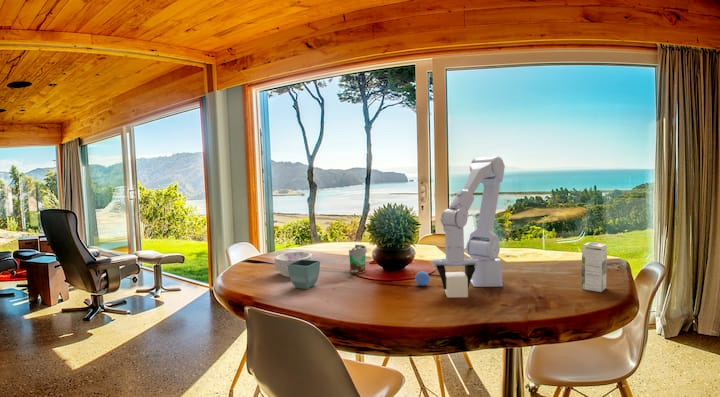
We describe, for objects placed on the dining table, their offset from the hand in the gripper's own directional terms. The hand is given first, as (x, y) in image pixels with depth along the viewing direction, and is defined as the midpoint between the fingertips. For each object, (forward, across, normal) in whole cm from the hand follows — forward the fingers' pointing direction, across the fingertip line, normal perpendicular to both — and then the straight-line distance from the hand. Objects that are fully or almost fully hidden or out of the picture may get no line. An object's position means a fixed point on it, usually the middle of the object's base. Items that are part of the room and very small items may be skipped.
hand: (455, 288), depth 121 cm
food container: (+2, -34, +31) cm, 46 cm away
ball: (-1, -10, +10) cm, 14 cm away
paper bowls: (+2, -61, +28) cm, 67 cm away
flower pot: (+2, -52, +10) cm, 53 cm away
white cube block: (+2, 0, 0) cm, 2 cm away
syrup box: (+2, +44, +4) cm, 44 cm away
